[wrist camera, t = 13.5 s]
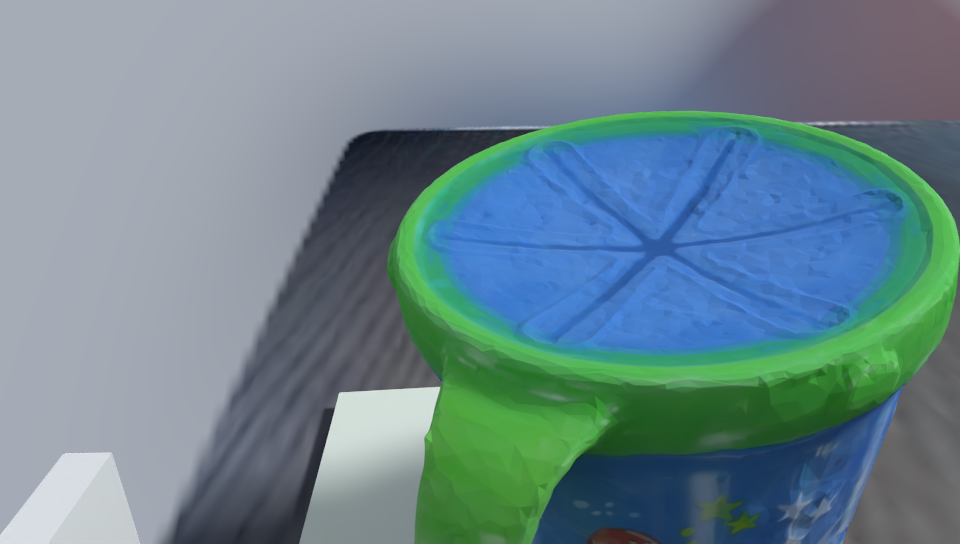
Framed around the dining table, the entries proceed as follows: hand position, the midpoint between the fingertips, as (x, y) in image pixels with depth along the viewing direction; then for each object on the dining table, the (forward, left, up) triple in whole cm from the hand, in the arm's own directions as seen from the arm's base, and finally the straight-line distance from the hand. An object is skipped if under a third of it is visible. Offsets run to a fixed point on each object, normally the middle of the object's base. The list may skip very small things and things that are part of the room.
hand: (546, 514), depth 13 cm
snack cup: (-6, -4, -8) cm, 11 cm away
